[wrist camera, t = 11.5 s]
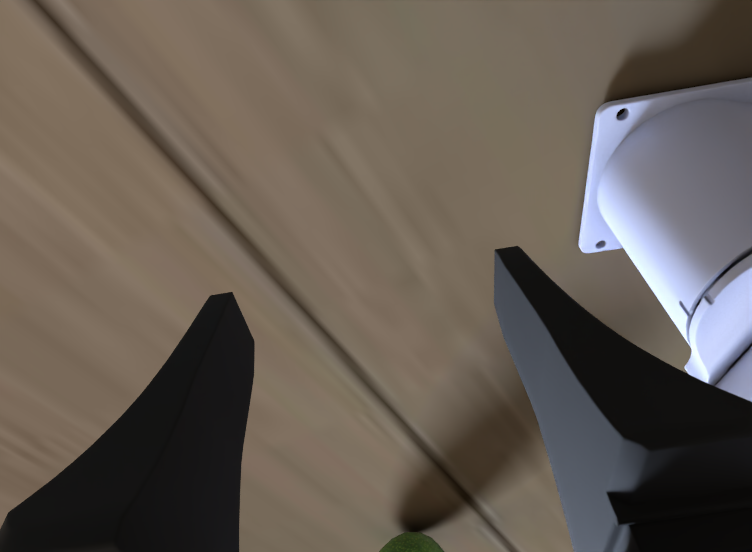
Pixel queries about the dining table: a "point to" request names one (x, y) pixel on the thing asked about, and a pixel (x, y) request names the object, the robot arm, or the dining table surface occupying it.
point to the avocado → (412, 543)
